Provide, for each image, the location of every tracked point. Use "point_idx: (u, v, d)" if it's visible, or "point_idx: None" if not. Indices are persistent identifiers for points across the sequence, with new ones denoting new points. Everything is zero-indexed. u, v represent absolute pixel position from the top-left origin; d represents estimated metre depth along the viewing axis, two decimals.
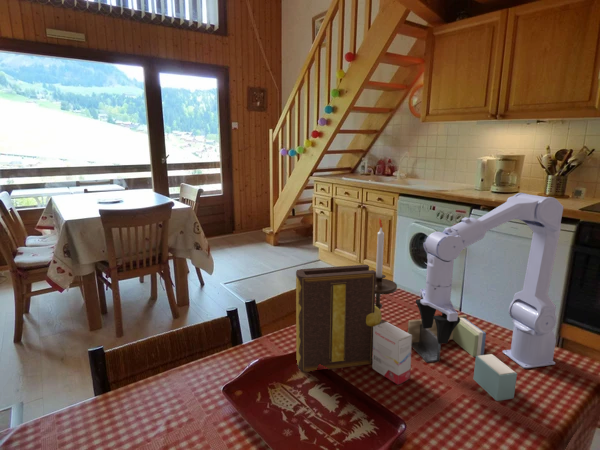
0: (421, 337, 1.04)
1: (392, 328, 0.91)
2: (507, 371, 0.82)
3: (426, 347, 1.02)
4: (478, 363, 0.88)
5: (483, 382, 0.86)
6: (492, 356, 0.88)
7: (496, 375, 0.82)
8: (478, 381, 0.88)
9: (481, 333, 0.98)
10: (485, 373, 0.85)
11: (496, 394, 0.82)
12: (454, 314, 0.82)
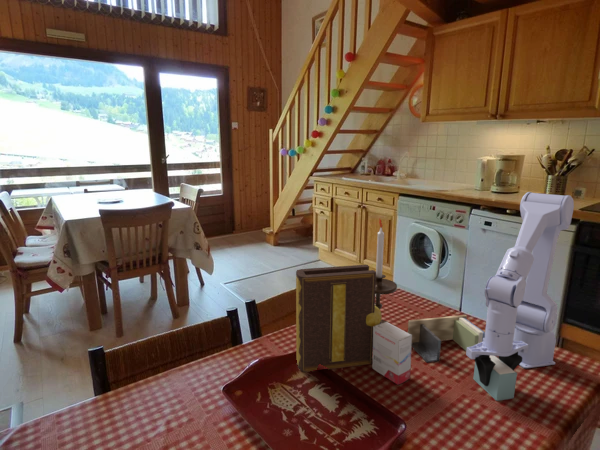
0: (421, 337, 1.04)
1: (392, 328, 0.91)
2: (507, 371, 0.82)
3: (426, 347, 1.02)
4: None
5: None
6: (492, 356, 0.88)
7: (496, 375, 0.82)
8: (478, 381, 0.88)
9: (481, 333, 0.98)
10: None
11: (496, 394, 0.82)
12: (469, 351, 0.83)
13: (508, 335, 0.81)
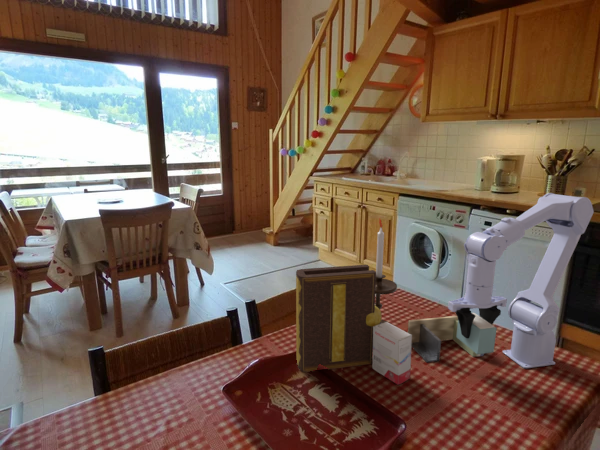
0: (421, 337, 1.04)
1: (392, 328, 0.91)
2: (487, 326, 0.87)
3: (426, 347, 1.02)
4: None
5: (465, 338, 0.91)
6: (474, 314, 0.92)
7: (477, 329, 0.86)
8: (461, 338, 0.92)
9: None
10: None
11: (477, 347, 0.87)
12: (451, 304, 0.87)
13: (487, 288, 0.85)
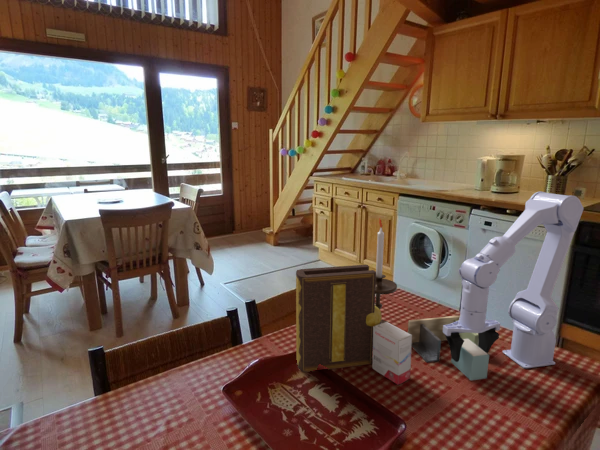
0: (421, 337, 1.04)
1: (392, 328, 0.91)
2: (480, 353, 0.89)
3: (426, 347, 1.02)
4: None
5: (459, 364, 0.93)
6: (468, 340, 0.95)
7: (470, 356, 0.89)
8: (455, 363, 0.95)
9: None
10: (461, 355, 0.93)
11: (470, 374, 0.89)
12: (445, 328, 0.90)
13: (480, 313, 0.88)
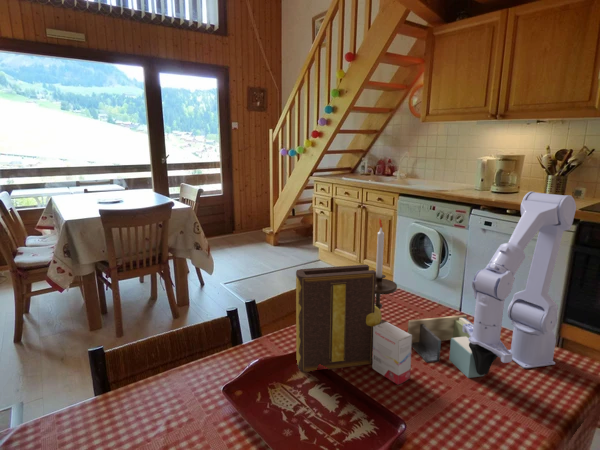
0: (421, 337, 1.04)
1: (392, 328, 0.91)
2: None
3: (426, 347, 1.02)
4: (453, 344, 0.96)
5: (457, 361, 0.94)
6: (466, 338, 0.96)
7: (467, 354, 0.90)
8: (453, 361, 0.96)
9: None
10: (458, 353, 0.94)
11: (468, 371, 0.90)
12: (509, 355, 0.80)
13: None
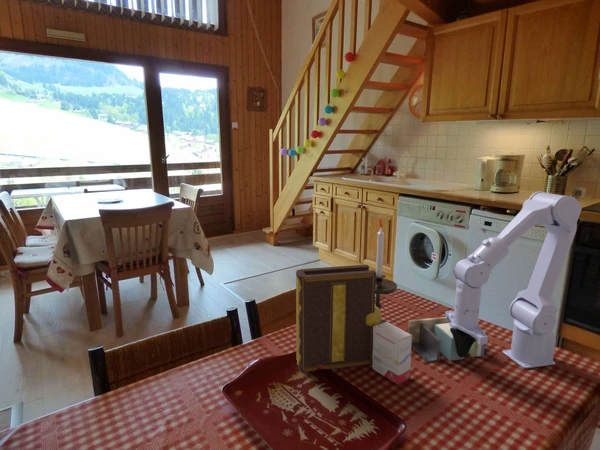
0: (421, 337, 1.04)
1: (392, 328, 0.91)
2: None
3: (426, 347, 1.02)
4: (437, 330, 1.03)
5: None
6: (448, 324, 1.03)
7: (449, 338, 0.97)
8: None
9: None
10: (441, 338, 1.01)
11: (449, 354, 0.98)
12: (484, 338, 0.87)
13: None
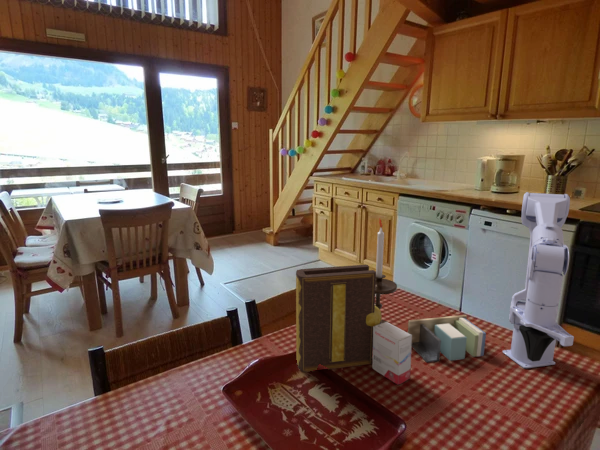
0: (421, 337, 1.04)
1: (392, 328, 0.91)
2: (458, 335, 0.98)
3: (426, 347, 1.02)
4: (437, 331, 1.03)
5: None
6: (448, 325, 1.03)
7: (449, 339, 0.97)
8: None
9: (481, 333, 0.98)
10: (441, 338, 1.01)
11: (449, 355, 0.98)
12: (570, 338, 0.72)
13: None
